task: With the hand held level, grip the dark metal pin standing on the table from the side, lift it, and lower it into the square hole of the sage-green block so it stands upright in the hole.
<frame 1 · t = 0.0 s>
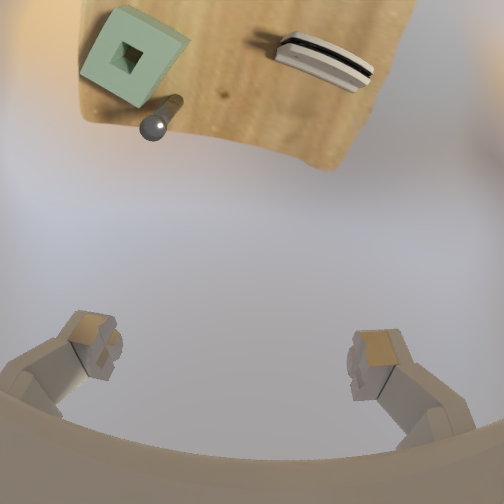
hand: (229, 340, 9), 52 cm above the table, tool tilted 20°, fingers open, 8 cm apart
grey curved block: (322, 58, 44), on the table
socket block: (138, 51, 44), on the table
pin: (175, 101, 52), on the table
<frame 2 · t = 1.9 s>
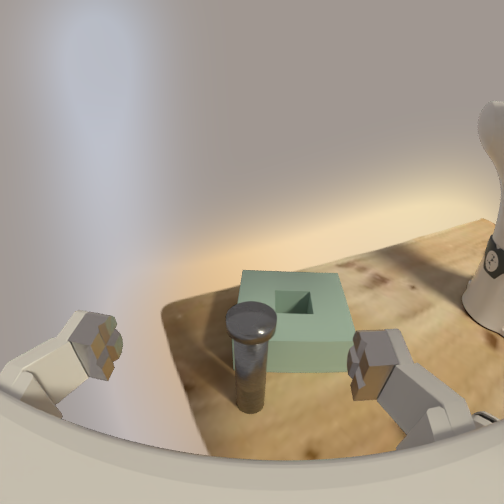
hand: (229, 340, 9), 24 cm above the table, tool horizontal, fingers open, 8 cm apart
socket block: (289, 333, 43), on the table
pin: (250, 402, 32), on the table
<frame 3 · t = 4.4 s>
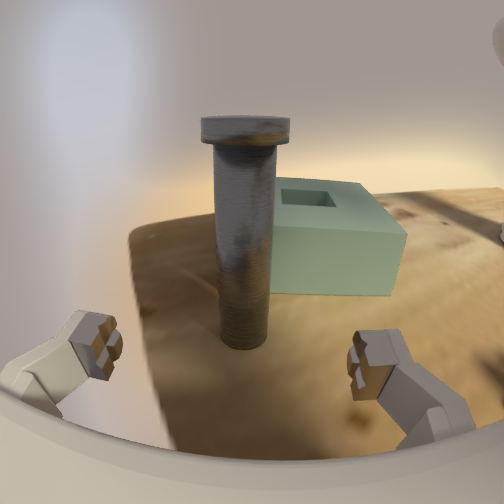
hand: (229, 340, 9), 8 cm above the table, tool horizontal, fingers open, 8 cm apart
socket block: (301, 251, 31), on the table
pin: (244, 333, 20), on the table
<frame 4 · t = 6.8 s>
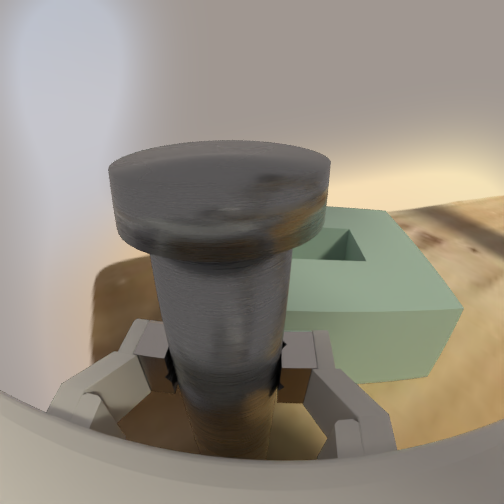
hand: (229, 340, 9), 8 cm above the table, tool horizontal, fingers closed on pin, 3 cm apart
socket block: (312, 309, 23), on the table
pin: (234, 455, 12), on the table, touching gripper
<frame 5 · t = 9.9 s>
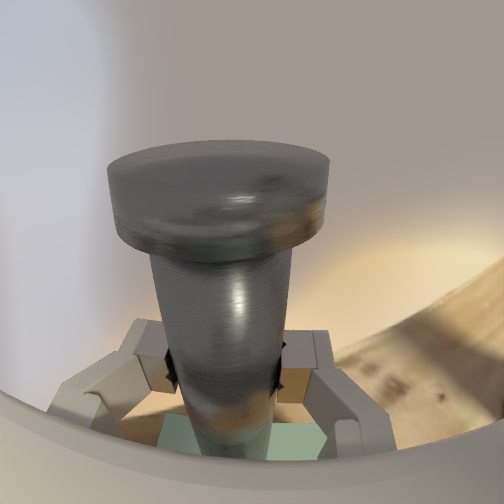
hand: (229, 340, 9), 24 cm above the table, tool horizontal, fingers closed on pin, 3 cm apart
pin: (235, 456, 12), point 16 cm above the table, touching gripper
when the fingers open (11 cm above the table, at t = 13.1 s): pin drops 3 cm, resting in socket block.
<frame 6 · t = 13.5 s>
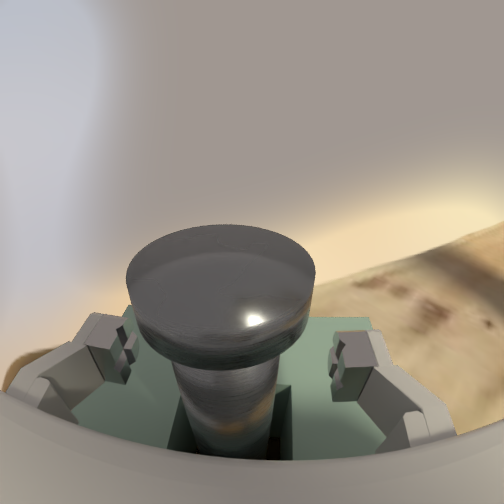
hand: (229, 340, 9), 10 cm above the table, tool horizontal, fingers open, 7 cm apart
socket block: (236, 470, 14), on the table
pin: (235, 470, 14), resting in socket block
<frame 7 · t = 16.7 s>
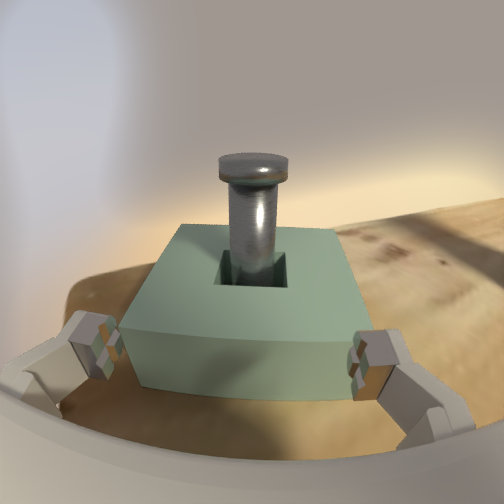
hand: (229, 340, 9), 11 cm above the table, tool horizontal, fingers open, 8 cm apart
socket block: (251, 326, 25), on the table
pin: (251, 326, 25), resting in socket block
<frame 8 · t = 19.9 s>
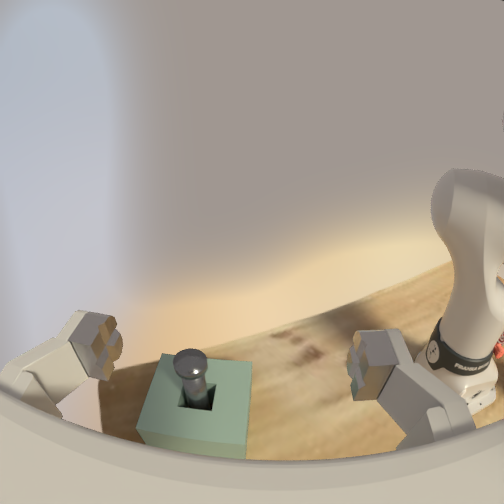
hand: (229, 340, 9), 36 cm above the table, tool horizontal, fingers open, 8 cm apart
socket block: (202, 414, 42), on the table
pin: (201, 414, 42), resting in socket block
soda can: (494, 339, 52), on the table
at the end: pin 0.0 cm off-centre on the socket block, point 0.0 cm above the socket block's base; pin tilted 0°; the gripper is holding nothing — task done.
